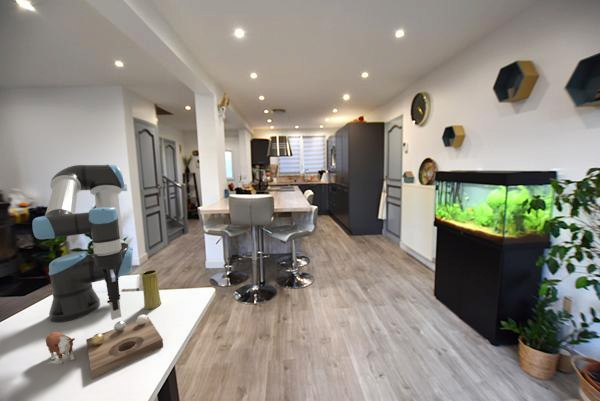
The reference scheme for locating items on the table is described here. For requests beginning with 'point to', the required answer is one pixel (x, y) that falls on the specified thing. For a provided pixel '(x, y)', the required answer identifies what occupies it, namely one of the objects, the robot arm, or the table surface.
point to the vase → (151, 289)
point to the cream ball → (141, 319)
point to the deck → (123, 347)
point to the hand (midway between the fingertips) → (116, 317)
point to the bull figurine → (59, 345)
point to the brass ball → (97, 339)
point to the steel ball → (119, 326)
